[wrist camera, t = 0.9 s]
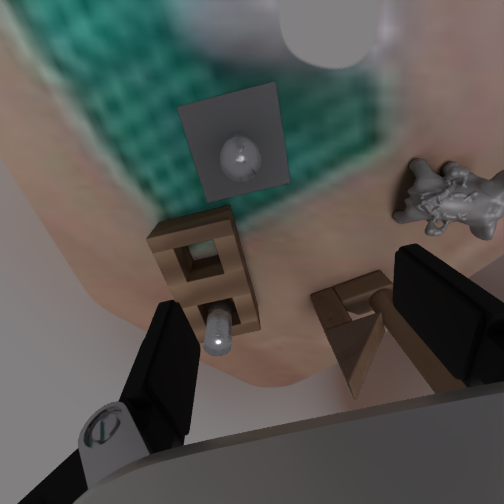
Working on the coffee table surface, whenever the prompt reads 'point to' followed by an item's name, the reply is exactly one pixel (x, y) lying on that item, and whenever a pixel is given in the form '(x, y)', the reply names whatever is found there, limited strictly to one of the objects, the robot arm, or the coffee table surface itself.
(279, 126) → the mat
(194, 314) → the hole block
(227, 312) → the seated peg
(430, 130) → the coffee table surface
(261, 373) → the coffee table surface
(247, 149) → the peg
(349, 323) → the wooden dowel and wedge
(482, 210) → the gray elephant figurine
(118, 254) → the coffee table surface
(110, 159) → the coffee table surface
